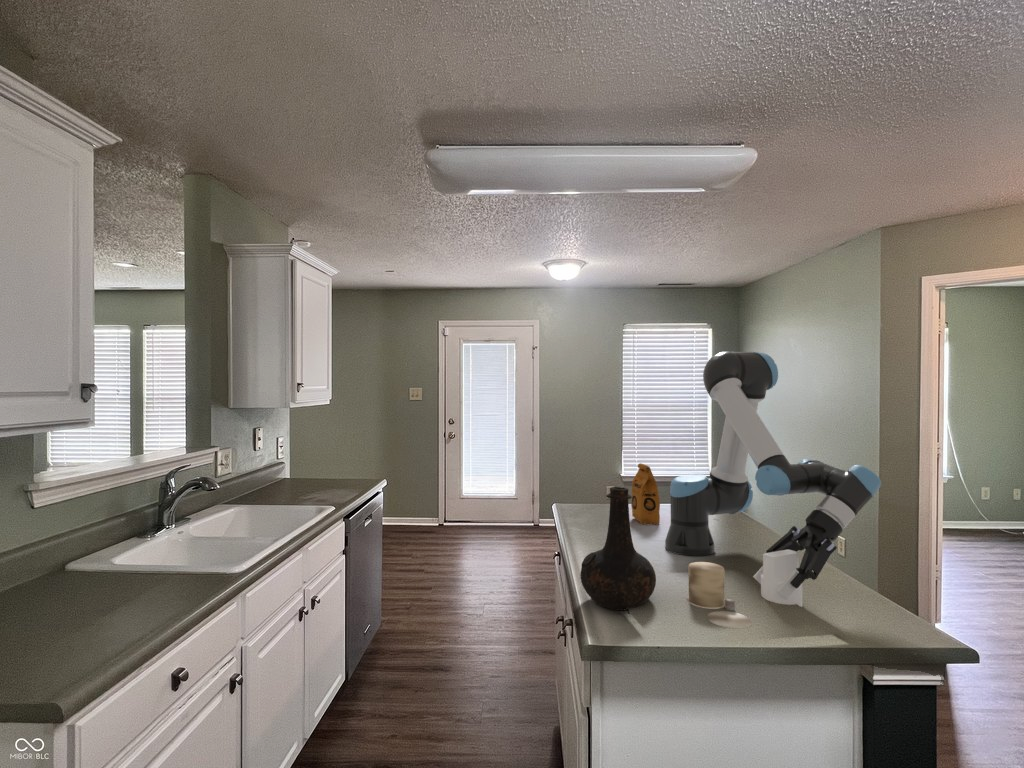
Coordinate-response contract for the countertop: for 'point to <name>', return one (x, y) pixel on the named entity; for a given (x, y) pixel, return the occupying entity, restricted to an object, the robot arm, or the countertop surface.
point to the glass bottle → (618, 562)
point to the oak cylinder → (706, 584)
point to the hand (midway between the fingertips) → (769, 587)
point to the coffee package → (645, 497)
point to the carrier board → (727, 616)
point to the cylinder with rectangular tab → (779, 576)
